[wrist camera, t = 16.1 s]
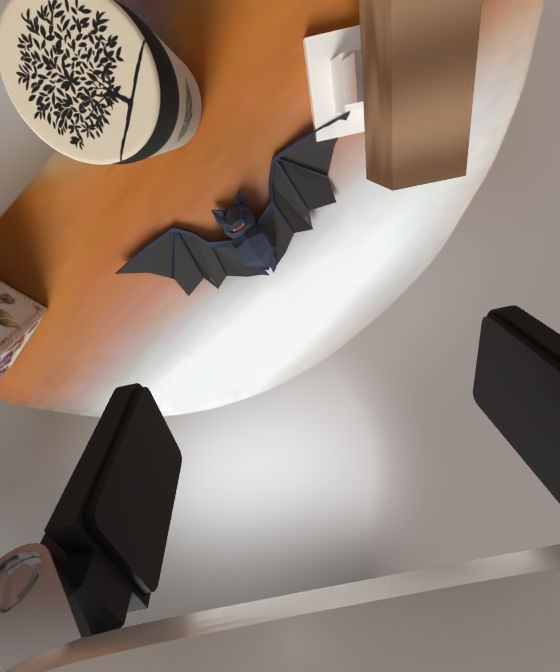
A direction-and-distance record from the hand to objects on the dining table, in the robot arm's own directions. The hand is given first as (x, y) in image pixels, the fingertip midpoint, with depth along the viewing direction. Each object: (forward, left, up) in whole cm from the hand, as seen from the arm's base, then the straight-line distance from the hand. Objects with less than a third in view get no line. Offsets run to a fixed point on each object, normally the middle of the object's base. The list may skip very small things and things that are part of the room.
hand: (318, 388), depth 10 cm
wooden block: (-8, +11, -23) cm, 27 cm away
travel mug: (-10, -8, -32) cm, 35 cm away
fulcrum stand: (-8, +11, -32) cm, 35 cm away
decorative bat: (+3, -3, -33) cm, 33 cm away
